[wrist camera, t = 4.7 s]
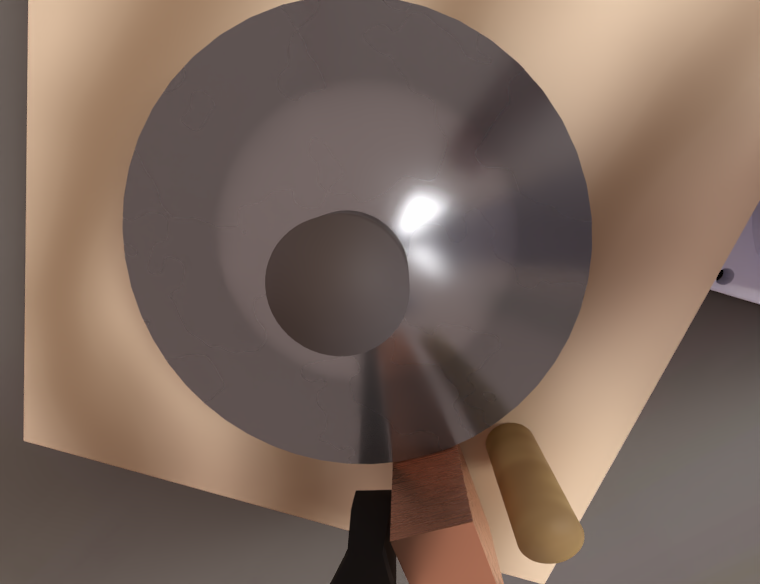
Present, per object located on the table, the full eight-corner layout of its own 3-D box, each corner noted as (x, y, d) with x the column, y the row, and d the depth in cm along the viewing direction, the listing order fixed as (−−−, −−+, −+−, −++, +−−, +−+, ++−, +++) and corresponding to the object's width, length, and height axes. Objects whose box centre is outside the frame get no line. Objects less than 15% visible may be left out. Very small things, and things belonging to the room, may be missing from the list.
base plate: (820, -2, 10) (1214, -181, 5) (530, 547, 15) (589, 710, 11) (88, -233, 9) (-236, -665, 5) (59, 416, 15) (-102, 524, 10)
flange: (67, 129, 10) (-103, 100, 7) (506, -79, 8) (578, -264, 5) (303, 565, 14) (270, 688, 10) (639, 486, 12) (732, 603, 9)
